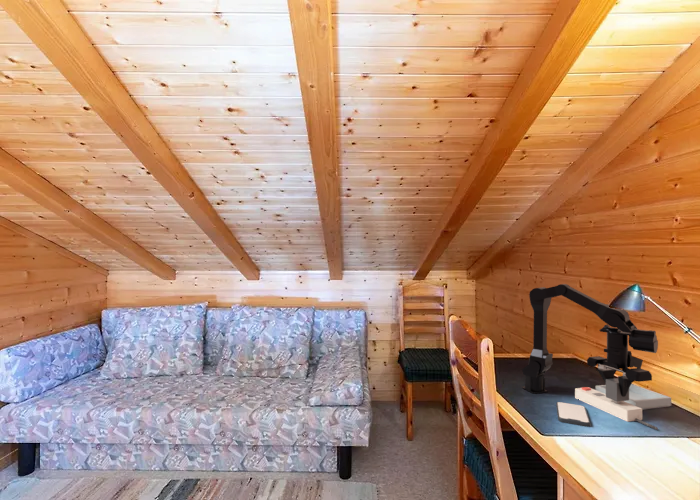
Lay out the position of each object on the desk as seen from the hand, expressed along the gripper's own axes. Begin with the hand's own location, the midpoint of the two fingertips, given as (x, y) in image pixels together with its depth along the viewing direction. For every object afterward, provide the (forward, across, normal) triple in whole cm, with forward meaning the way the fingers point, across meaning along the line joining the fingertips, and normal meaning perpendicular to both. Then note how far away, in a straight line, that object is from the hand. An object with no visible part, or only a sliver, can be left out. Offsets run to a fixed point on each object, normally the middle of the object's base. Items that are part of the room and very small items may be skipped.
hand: (617, 394), depth 124 cm
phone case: (+7, +2, +16) cm, 17 cm away
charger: (+3, 0, 0) cm, 3 cm away
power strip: (+6, +1, 0) cm, 6 cm away
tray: (+6, +8, -16) cm, 19 cm away
